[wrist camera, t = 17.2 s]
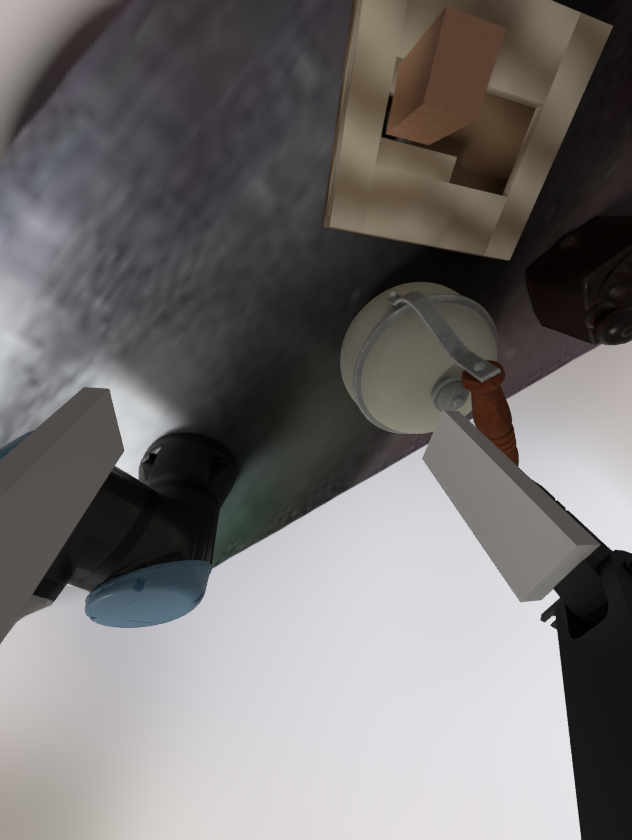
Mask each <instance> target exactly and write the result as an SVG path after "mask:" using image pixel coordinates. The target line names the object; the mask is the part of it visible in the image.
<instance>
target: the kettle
mask: <svg viewBox="0 0 632 840" xmlns="http://www.w3.org/2000/svg"><path fill="white" fill-rule="evenodd" d="M497 356H498V335H497V331H496V327H495V324H494V322H493V320H492V318H491V317H490V315H489V314H488V312H487V311H486V310H485V309H484V308H483V307H482V306H481V305H479V304H478V303H477V302H475V301H473V300H471V299H470V298H467V297H464V296H461V295H460V294H458V293H457V292H455V291H453V290H452V289H450V288H448V287H445V286H442V285H439V284H435V283H429V282H412V283H406V284H402V285H398V286H395V287H393V288H390V289H388V290H386V291H384V292H382V293H381V294H379V295H378V296H376V297H375V298H373V299H372V300H371V301H370V302H368V303H367V304H366V305H365V306H364V307H363V308H362V309H361V310H360V312H359V313H358V314H357V315H356V317H355V318H354V319H353V321H352V323H351V324H350V326H349V328H348V330H347V332H346V334H345V337H344V340H343V344H342V348H341V355H340V368H341V374H342V379H343V382H344V384H345V387H346V389H347V391H348V393H349V394H350V396H351V397H352V399H353V400H354V401H355V402H356V403H357V404H358V406H359V408H360V410H361V412H362V413H363V414H364V416H365V417H366V418H367V419H368V420H369V421H370V422H372V423H373V424H374V425H376V426H377V427H379V428H381V429H383V430H386V431H389V432H393V433H399V434H420V433H429V432H433V431H435V428H436V426H437V424H438V421H439V419H440V417H441V415H442V412H443V410H449V411H459V412H460V413H461V414H462V415H463V416H466V415H467V414H468V413H469V412H470V411H472V413H473V419H474V423H475V426H476V428H477V429H478V430H479V431H480V432H481V433H483V434H484V435H485V436H486V437H487V438H488V439H489V440H490V441H491V442H492V443H493V444H494V445H495V446H496V447H497V448H499V449H500V450H501V451H502V452H503V453H504V454H505V455H506V456H507V457H508V458H509V459H510V460H511V461H512V462H513V463H514V464H516V465H517V466H518V463H519V457H518V450H517V447H516V439H515V433H514V427H513V425H512V417H511V412H510V409H509V406H508V403H507V401H506V398H505V396H504V394H503V391H502V389H501V386H500V385H501V383H502V382H503V380H504V378H505V372H504V369H503V367H502V366H501V364H499V363H498V362H497Z"/></svg>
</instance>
